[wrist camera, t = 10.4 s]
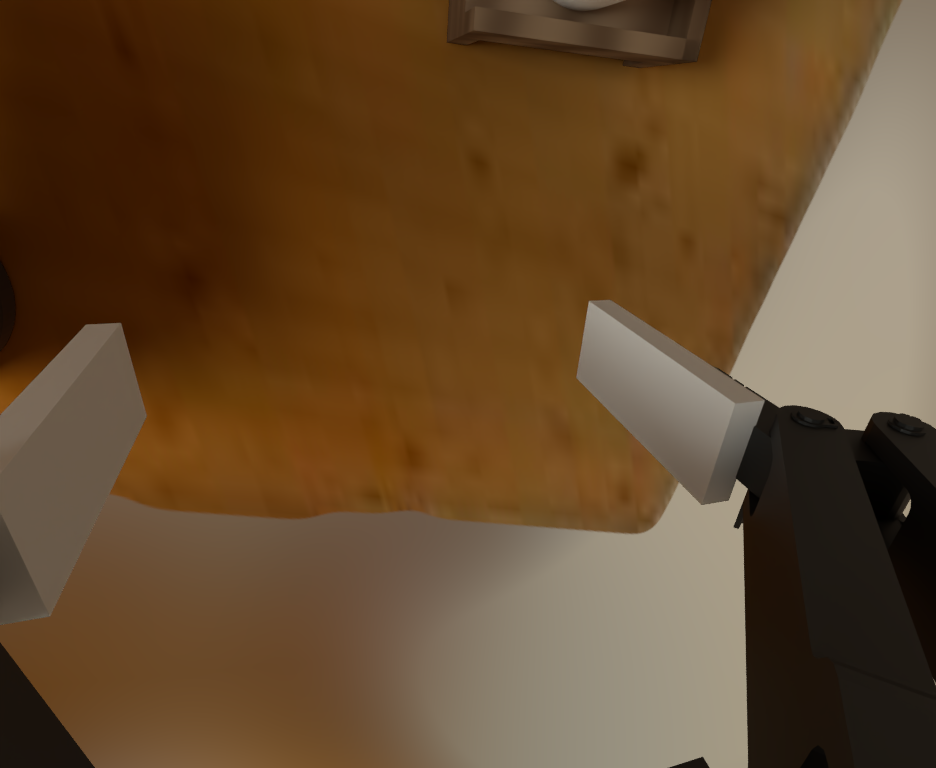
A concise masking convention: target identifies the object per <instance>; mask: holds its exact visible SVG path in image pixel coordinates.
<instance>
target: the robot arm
mask: <svg viewBox="0 0 936 768" xmlns="http://www.w3.org/2000/svg"><path fill="white" fill-rule="evenodd" d="M14 321H15V299H14V293H13V289H12V286H11V283H10V280H9V278H8V275H7V273H6V271H5V269H4V267H3V265H2V264H1V262H0V351H1V350H2V348H3V347H4V346H5V344H6V343H7V341H8V339H9V337H10V335H11V332H12V329H13V326H14ZM576 378H577V379H578V380H579V381H580V382H581V383H582V384H583V385H584V386H585V387H586V388H587V389H588V390H589V391H590V392H591V393H592V394H593V395H594V396H595V397H596V398H597V399H598V400H599V401H600V402H601V403H602V404H603V405H604V406H605V407H606V408H607V409H608V410H609V411H610V413H611V414H612V415H613V416H614V417H615V418H616V419H617V420H618V421H619V422H620V423H621V424H622V425H623V426H624V427H625V428H626V429H627V430H628V431H629V432H630V433H631V434H632V435H633V436H634V437H635V438H636V439H637V440H638V441H639V442H640V443H641V444H642V445H643V446H644V447H645V448H646V449H647V450H648V451H649V452H650V453H651V454H652V455H653V456H654V457H655V458H656V459H657V460H658V461H659V462H660V463H661V464H662V465H663V466H664V467H665V468H666V469H667V470H668V471H669V472H670V473H671V474H672V475H673V476H674V477H675V478H676V479H677V480H678V481H679V482H680V483H681V484H682V485H683V487H684V488H685V489H686V490H688V492H689V493H690V494H691V495H692V496H693V497H694V498H696V500H697V501H698V502H699V503H700V504H701V505H704V504H710V503H716V502H722V501H728V500H729V498H730V495H731V493H732V490H733V487H734V484H735V482H736V479H738V480H739V481H740V482H741V483H742V484H743V485H744V486H746V487H747V488H748V490H747V493H746V496H745V498H744V501H743V504H742V506H741V509H740V511H739V514H738V517H737V519H736V522H735V525H734V527H735V528H739V527H740V525H741V523H743V530H744V578H745V579H744V580H745V629H746V675H747V726H748V768H936V685H935V683H934V680H935V682H936V429H935V428H933V427H932V426H931V425H929V424H926V423H924V422H922V421H921V420H920V419H918V418H916V417H913V416H909V415H906V414H896V413H890V412H879V413H875V414H873V415H872V417H871V419H870V421H869V423H868V425H867V427H866V429H865V431H860V430H848V429H844V428H843V426H842V425H841V424H840V422H839V421H837V420H836V419H835V418H833V417H831V416H829V415H827V414H825V413H823V412H820V411H818V410H814V409H811V408H808V407H801V406H793V405H792V406H784V407H781V408H779V407H777V406H776V405H774V404H772V403H771V402H769V401H768V400H766V399H765V398H763V397H762V396H760V395H759V394H757V393H755V392H754V391H752V390H751V389H749V388H748V387H744V385H743V384H742V383H740V382H738V381H737V380H733V379H732V377H731V376H729V375H728V374H726V373H725V372H723V371H721V370H720V369H718V368H716V367H713V366H711V365H710V364H708V363H707V362H705V361H704V360H702V359H701V358H699V357H697V356H696V355H694V354H693V353H691V352H690V351H688V350H687V349H685V348H684V347H682V346H681V345H679V344H677V343H676V342H674V341H673V340H671V339H670V338H668V337H667V336H665V335H664V334H662V333H661V332H659V331H657V330H656V329H654V328H653V327H651V326H650V325H648V324H647V323H645V322H644V321H642V320H641V319H639V318H637V317H636V316H634V315H633V314H631V313H630V312H628V311H627V310H625V309H624V308H622V307H621V306H619V305H618V304H616V303H614V302H613V301H611V300H598V301H589V304H588V310H587V316H586V322H585V328H584V334H583V341H582V347H581V353H580V359H579V365H578V371H577V377H576ZM146 417H147V415H146V412H145V408H144V404H143V401H142V397H141V393H140V390H139V386H138V383H137V379H136V375H135V372H134V368H133V364H132V361H131V357H130V354H129V350H128V346H127V343H126V339H125V336H124V332H123V328H122V325H121V323H108V324H87V325H85V326H84V327H83V328H82V329H81V330H80V331H79V333H78V334H77V335H76V336H75V337H74V338H73V339H72V340H71V341H70V342H69V343H68V344H67V345H66V346H65V347H64V348H63V349H62V350H61V352H60V353H59V354H58V355H57V356H56V357H55V358H54V359H53V360H52V361H51V362H50V363H49V364H48V365H47V366H46V367H45V368H44V369H43V371H42V372H41V373H40V374H39V375H38V376H37V377H36V378H35V379H34V380H33V381H32V382H31V383H30V384H29V385H28V386H27V387H26V388H25V389H24V391H23V392H22V393H21V394H20V395H19V396H18V397H17V398H16V399H15V400H14V401H13V402H12V403H11V404H10V405H9V406H8V407H7V408H6V410H5V411H4V412H3V413H2V414H1V415H0V625H3V624H8V623H14V622H20V621H26V620H32V619H38V618H44V617H49V616H50V615H51V613H52V611H53V609H54V607H55V605H56V603H57V601H58V599H59V597H60V594H61V592H62V590H63V588H64V586H65V584H66V582H67V580H68V578H69V576H70V574H71V572H72V570H73V568H74V566H75V563H76V561H77V559H78V557H79V555H80V553H81V551H82V549H83V547H84V545H85V543H86V541H87V539H88V536H89V534H90V532H91V530H92V528H93V526H94V524H95V522H96V520H97V518H98V516H99V514H100V512H101V510H102V508H103V505H104V503H105V501H106V499H107V497H108V495H109V493H110V491H111V489H112V487H113V485H114V483H115V481H116V479H117V477H118V475H119V473H120V470H121V468H122V466H123V464H124V462H125V460H126V458H127V456H128V454H129V452H130V450H131V448H132V446H133V444H134V442H135V439H136V437H137V435H138V433H139V431H140V429H141V427H142V425H143V423H144V421H145V419H146ZM910 499H911V509H910V511H909V514H908V516H907V518H906V517H905V516H904V514H903V511H904V509H905V508H906V506H907V504H908V502H909V500H910ZM933 679H934V680H933ZM0 768H95V767H94V766H93V765H92V763H91V762H90V761H89V759H88V758H87V757H86V755H85V754H84V753H83V751H82V750H81V749H80V747H79V746H78V745H77V743H76V742H75V741H74V740H73V738H72V737H71V735H70V734H69V733H68V731H67V730H66V729H65V728H64V726H63V725H62V724H61V722H60V721H59V720H58V718H57V717H56V716H55V714H54V713H53V712H52V710H51V709H50V708H49V707H48V705H47V704H46V702H45V701H44V700H43V699H42V697H41V696H40V695H39V693H38V692H37V690H36V689H35V688H34V687H33V685H32V684H31V683H30V681H29V680H28V679H27V677H26V676H25V675H24V673H23V672H22V671H21V669H20V668H19V667H18V665H17V664H16V663H15V661H14V660H13V659H12V658H11V656H10V655H9V653H8V652H7V651H6V649H5V648H4V647H3V646H2V644H1V643H0ZM670 768H709V766H708V765H707V763H706V761H705V760H704V758H703V757H701V758H698V759H694V760H692V761H688V762H685V763H682V764H679V765H676V766H673V767H670Z"/></svg>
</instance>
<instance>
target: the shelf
mask: <svg viewBox="0 0 936 768" xmlns="http://www.w3.org/2000/svg"><path fill="white" fill-rule="evenodd" d="M711 1H712V0H625V1H622V2H619V3H616V4H612V5H609V6H606V7H603V8H600V9H596V10H589V11H577V10H572V9H568V8H565V7H563V6H561V5H559V4H558V3H556V2H554V1H553V0H449V14H448V32H447V42H448V43H456V44H463V45H468V44H471V43H473V42H476V41H479V40H482V41H489V42H497V43H504V44H511V45H519V46H526V47H533V48H541V49H548V50H555V51H563V52H570V53H577V54H585V55H592V56H599V57H607V58H614V59H621V60H624V62H623V66H629V67H636V68H643V67H652V66H662V65H671V64H680V63H690V62H697V59H698V55H699V51H700V47H701V42H702V38H703V34H704V30H705V26H706V22H707V18H708V13H709V9H710V5H711Z"/></svg>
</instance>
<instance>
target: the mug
mask: <svg viewBox="0 0 936 768" xmlns="http://www.w3.org/2000/svg"><path fill="white" fill-rule="evenodd" d="M553 1H554V2H556V3H558V4H559V5H561V6H563V7H565V8H568V9H572V10H577V11H589V10H596V9H600V8H603V7H606V6H609V5H612V4H616V3H619V2H622V1H625V0H553Z"/></svg>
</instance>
